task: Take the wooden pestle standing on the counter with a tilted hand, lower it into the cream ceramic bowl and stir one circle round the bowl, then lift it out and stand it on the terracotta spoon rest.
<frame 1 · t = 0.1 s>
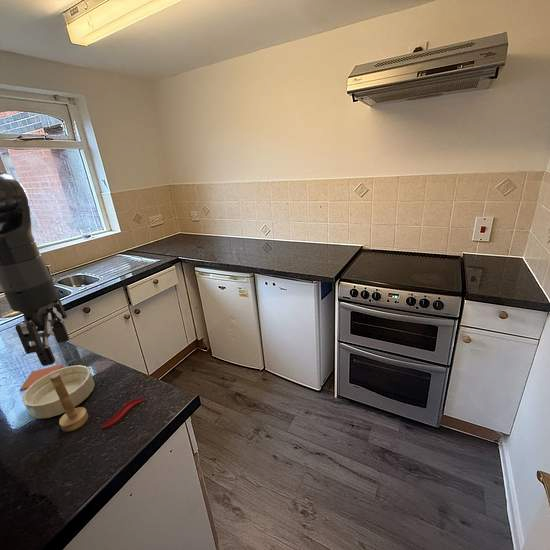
hand: (57, 351, 63), 25 cm above the countertop, tool pointing down, fingers open, 8 cm apart
spoon rest: (42, 377, 97), on the countertop
bowl: (63, 397, 87), on the countertop
cayenne pepper: (124, 413, 79), on the countertop
wooden pestle: (75, 421, 78), on the countertop
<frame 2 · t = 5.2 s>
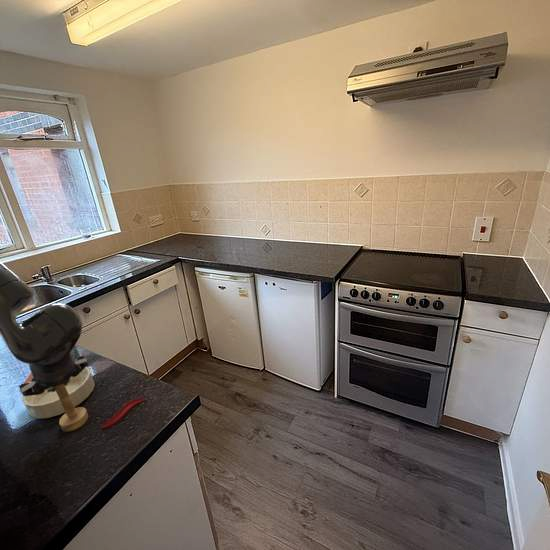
hand: (58, 385, 75), 11 cm above the countertop, tool tilted 45°, fingers closed on wooden pestle
wooden pestle: (75, 421, 78), on the countertop, touching gripper
everything else where it was.
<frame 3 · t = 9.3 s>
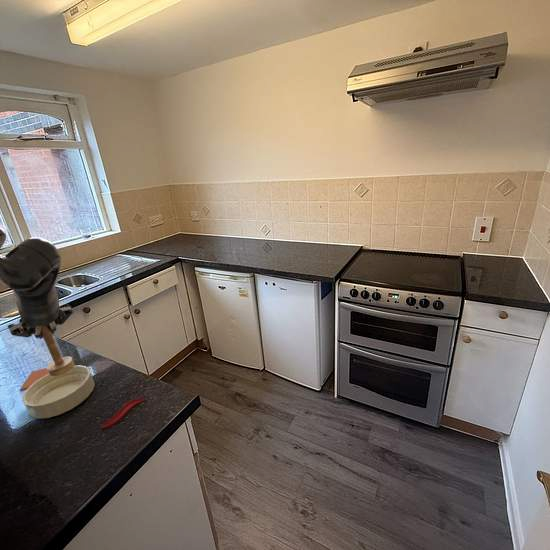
hand: (45, 333, 81), 21 cm above the countertop, tool tilted 45°, fingers closed on wooden pestle
wooden pestle: (62, 368, 84), point 10 cm above the countertop, touching gripper
everything else where it was.
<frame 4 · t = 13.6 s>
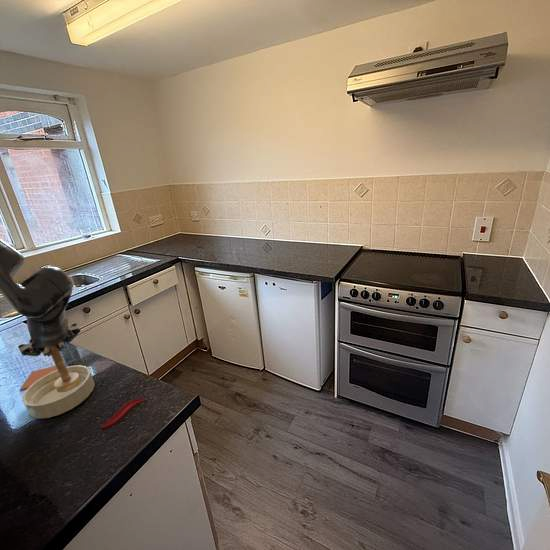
hand: (53, 350, 83), 15 cm above the countertop, tool tilted 45°, fingers closed on wooden pestle
wooden pestle: (68, 384, 86), point 4 cm above the countertop, touching gripper
everything else where it was.
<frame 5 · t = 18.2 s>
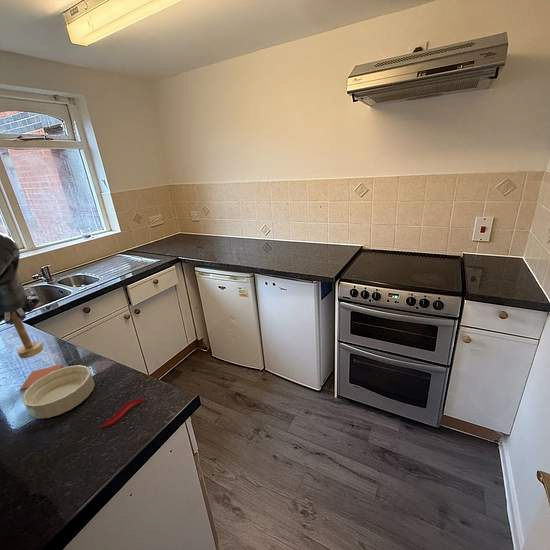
hand: (15, 320, 90), 21 cm above the countertop, tool tilted 45°, fingers closed on wooden pestle
wooden pestle: (31, 352, 93), point 10 cm above the countertop, touching gripper
everything else where it was.
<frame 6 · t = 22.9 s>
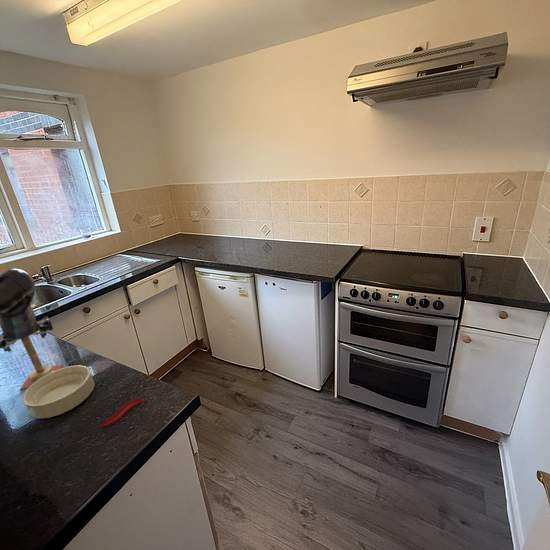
hand: (25, 342, 93), 13 cm above the countertop, tool tilted 45°, fingers open, 8 cm apart
wooden pestle: (42, 375, 96), point 1 cm above the countertop, touching spoon rest
everything else where it was.
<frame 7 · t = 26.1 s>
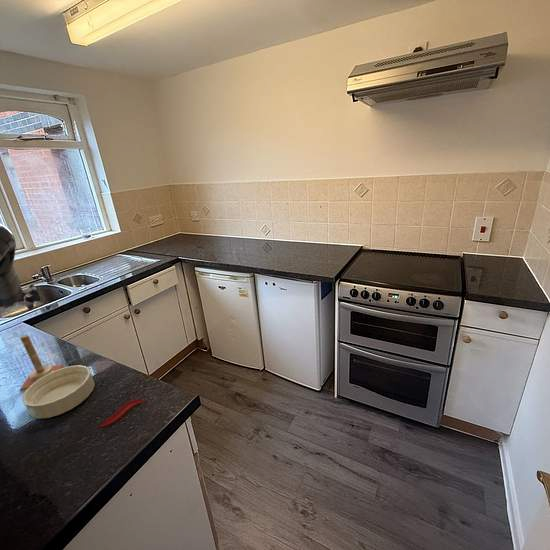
hand: (11, 314, 86), 24 cm above the countertop, tool tilted 45°, fingers open, 8 cm apart
nothing on the countertop moved.
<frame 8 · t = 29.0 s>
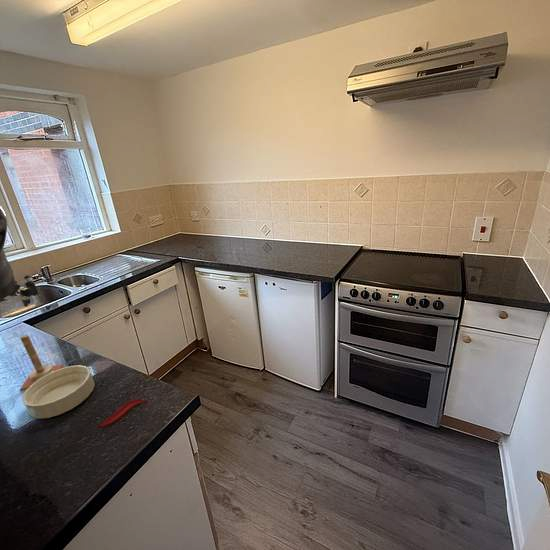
hand: (3, 310, 72), 31 cm above the countertop, tool tilted 45°, fingers open, 8 cm apart
nothing on the countertop moved.
at the end: wooden pestle inside the target area on the spoon rest (0.2 cm from its centre), point 0.6 cm above the spoon rest's base; wooden pestle tilted 0°; the gripper is holding nothing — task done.
